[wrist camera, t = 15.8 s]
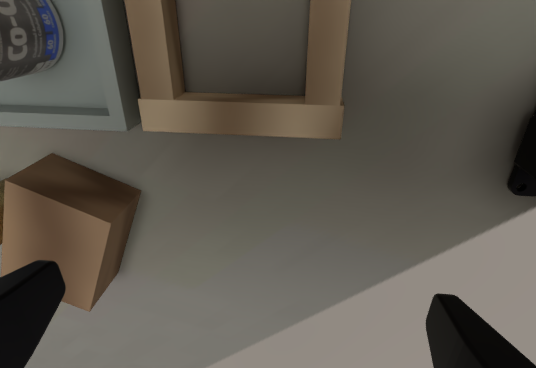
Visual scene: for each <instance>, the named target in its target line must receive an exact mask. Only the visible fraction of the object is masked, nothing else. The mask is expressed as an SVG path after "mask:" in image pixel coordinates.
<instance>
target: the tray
mask: <svg viewBox="0 0 536 368" xmlns="http://www.w3.org/2000/svg"><path fill="white" fill-rule="evenodd" d="M50 1H51V3H52V4H53V6H54V8H55V10H56V12H57V14H58V16H59V19H60V22H61V25H62V29H63V48H62V52H61V55H60V57H59V59H58V60H57V61H56V63H55V64H54V65H53V66H52V67H50V68H49V69H47V70H45V71H42V72H39V73H35V74H31V75H26V76H22V77H17V78H13V79H9V80H5V81H0V126H11V127H34V128H57V129H80V130H104V131H129V130H130V129H132V128H133V127H134V126H136V125H137V124H139V123H140V122H142V121H141V115H140V110H139V104H138V99H139V98H140V97H139V91H138V85H137V79H136V74H135V68H134V62H133V56H132V50H131V45H130V39H129V33H128V27H127V21H126V16H125V10H124V4H123V0H50Z"/></svg>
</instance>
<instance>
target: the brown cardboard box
mask: <svg viewBox="0 0 536 368" xmlns="http://www.w3.org/2000/svg"><path fill="white" fill-rule="evenodd" d="M140 193H141V190H138V189H136V188H134V187H131V186H129V185H127V184H124V183H122V182H119V181H117V180H115V179H112V178H110V177H108V176H105V175H103V174H100V173H98V172H96V171H93V170H91V169H89V168H86V167H84V166H81V165H79V164H77V163H74V162H72V161H70V160H67V159H65V158H62V157H60V156H58V155H55V154H53V153H51V154H50V155H48V156H46V157H44V158H43V159H41V160H39V161H37V162H36V163H34V164H32V165H30V166H29V167H27V168H25V169H23V170H22V171H20V172H18V173H16V174H15V175H13V176H11V177H9V178H8V179H6V180H5V190H4V216H3V242H2V267H1V277H2V276H4V275H6V274H9V273H11V272H13V271H15V270H17V269H19V268H21V267H23V266H26V265H28V264H30V263H32V262H34V261H36V260H50V261H55V262H56V263H57V264H58V266H59V268H60V271H61V274H62V276H63V279H64V282H65V285H66V290H65V294H64V297H63V298H62V300H61V301H63V302H66V303H68V304H71V305H73V306H76V307H79V308H81V309H84V310H86V311H89V312H90V311H91V309H92V308H93V306H94V305H95V304H96V302H97V301H98V300H99V298H100V297H101V295H102V294H103V293H104V291H105V290H106V288H107V287H108V286H109V284H110V283H111V282H112V280H113V279H114V277H115V276H116V275H117V273H118V271H119V267H120V264H121V260H122V257H123V253H124V250H125V246H126V243H127V239H128V236H129V232H130V229H131V225H132V221H133V218H134V214H135V211H136V207H137V204H138V200H139V197H140Z"/></svg>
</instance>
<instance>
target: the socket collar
mask: <svg viewBox="0 0 536 368" xmlns="http://www.w3.org/2000/svg"><path fill="white" fill-rule="evenodd" d="M125 6H126V12H127V18H128V24H129V29H130V35H131V41H132V47H133V53H134V59H135V65H136V71H137V76H138V82H139V88H140V94H141V97H140V98H139V99H138V104H139V110H140V115H141V121H142V127H143V131H157V132H181V133H204V134H227V135H251V136H274V137H298V138H321V139H341V132H342V123H343V114H344V103H343V100H342V97H341V93H342V83H343V73H344V64H345V54H346V44H347V35H348V25H349V15H350V6H351V0H310V16H309V34H308V53H307V71H306V90H305V96H295V95H262V94H229V93H196V92H185V86H184V76H183V67H182V58H181V49H180V40H179V31H178V21H177V12H176V3H175V0H125Z"/></svg>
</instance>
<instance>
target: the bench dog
mask: <svg viewBox="0 0 536 368" xmlns="http://www.w3.org/2000/svg"><path fill="white" fill-rule="evenodd" d="M7 179H8V178H7ZM5 180H6V179H4V180H2V181H0V245H1V244H2V242H3V216H4V190H5Z"/></svg>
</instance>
